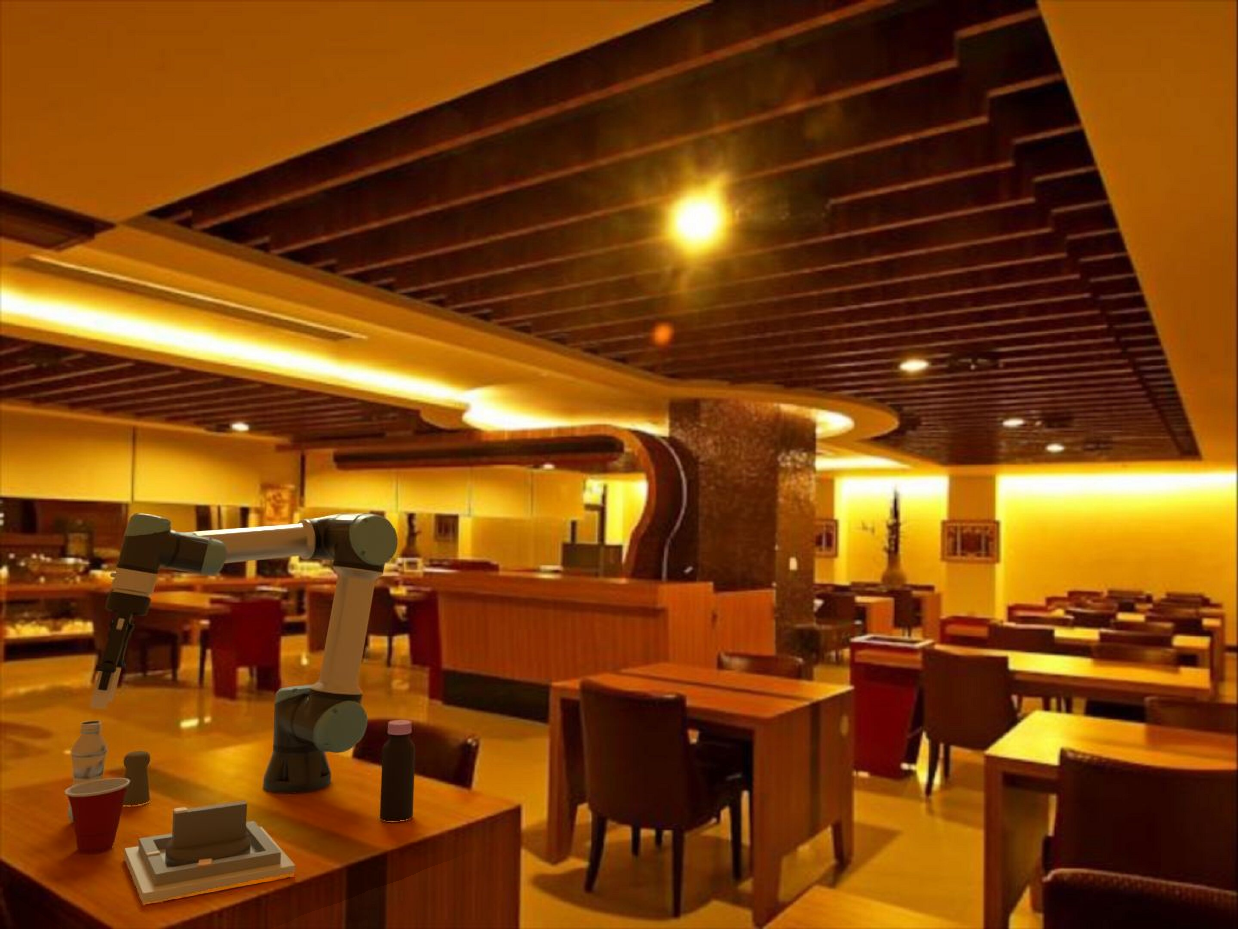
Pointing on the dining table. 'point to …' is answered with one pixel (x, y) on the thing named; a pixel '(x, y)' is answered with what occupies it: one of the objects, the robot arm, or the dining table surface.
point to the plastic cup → (97, 812)
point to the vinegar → (397, 773)
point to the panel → (199, 883)
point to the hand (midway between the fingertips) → (101, 704)
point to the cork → (137, 777)
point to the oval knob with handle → (208, 833)
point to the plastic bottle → (88, 755)
